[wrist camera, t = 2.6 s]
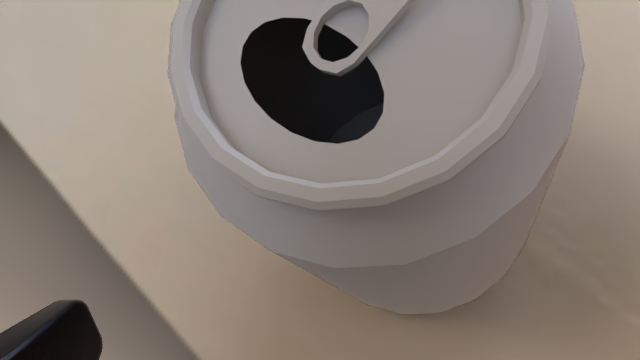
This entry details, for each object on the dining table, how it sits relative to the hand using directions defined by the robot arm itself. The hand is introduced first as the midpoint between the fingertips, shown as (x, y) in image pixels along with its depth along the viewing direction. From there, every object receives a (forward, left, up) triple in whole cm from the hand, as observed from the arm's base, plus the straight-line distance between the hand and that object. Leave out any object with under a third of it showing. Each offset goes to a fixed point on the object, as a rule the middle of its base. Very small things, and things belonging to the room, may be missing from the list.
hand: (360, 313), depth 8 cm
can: (+4, 0, -11) cm, 12 cm away
